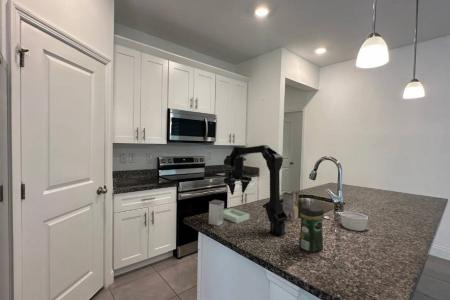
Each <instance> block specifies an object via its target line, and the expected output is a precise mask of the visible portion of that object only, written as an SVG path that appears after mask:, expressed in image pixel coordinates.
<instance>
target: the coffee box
mask: <svg viewBox="0 0 450 300" xmlns="http://www.w3.org/2000/svg"><path fill="white" fill-rule="evenodd" d="M299 197H300V195H299V191H295V190H294V191H293V190H288V191H284V192H283V203H282V206H283V211H284V212H285V214H286V215H287V217H288V218H287V220H286V221H289V220H290V221H291V222H294V221H295V220H296V219H298V218H299Z"/></svg>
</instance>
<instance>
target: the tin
mask: <svg viewBox="0 0 450 300" xmlns="http://www.w3.org/2000/svg"><path fill="white" fill-rule="evenodd" d="M208 204H209V205H208V224H209V225H213V226H220V225H221V224H223V223H224V210H225V201H224V200H219V199H213V200H211V201H208Z"/></svg>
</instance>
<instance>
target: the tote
mask: <svg viewBox="0 0 450 300" xmlns="http://www.w3.org/2000/svg"><path fill="white" fill-rule="evenodd" d="M223 220H227V221H229V222H232V223H235V224H239V223H242V222H245V221H248V220H250V213H248V212H244V211H241V210H239V209H235V208H233V207H232V208H228V209H224V218H223Z"/></svg>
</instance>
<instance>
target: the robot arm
mask: <svg viewBox="0 0 450 300" xmlns="http://www.w3.org/2000/svg"><path fill="white" fill-rule="evenodd" d="M251 154H261V156H262V157H263V159H264V160H265V162H266V167H267V169H268V171H269V201H267V202H265V212H266V215H267V219H268V221H269V222H270V224H269V231H268V233H269V234H271V235H273V236H276V237H279V238H280V237H283V236H285V235H286V234H287V232H286V222H285V221H288V220H287V218H288V217H287V215H286V214H285V212H284V211H283V203H282V202H281V199H280V197H281V195H280V182H281V181H280V171H281V169H282V167H283V161H284V158H283V156H282V155H281V154H279V153H278V152H277V151H275V150H274V149H273V148H271V147H270V146H269V145H267V144H261V145H254V146H249V147H248V146H246V147H245V146H234V147H233V149H232V151H231V152H230V154H229V155H226V156H225V158H224V160H223V164H224V166H225V167H229V168H232V169H231V171H229V170H226V171H224V178H223V183H225V185H227V186H228V188H229V191H230V194H231V196H234V193H235V187H236V182H240V183H241V192H242V194H244V193H245V191H246V189H247V187H248V186H249V184H250V183H251V182H252V180H253V179H252V178H253V177H252V176H250V175H244V172H245V171H246V170H245V169H244V163H245V161H246V162H247V159H246V157H245V156H248V155H251Z"/></svg>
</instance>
